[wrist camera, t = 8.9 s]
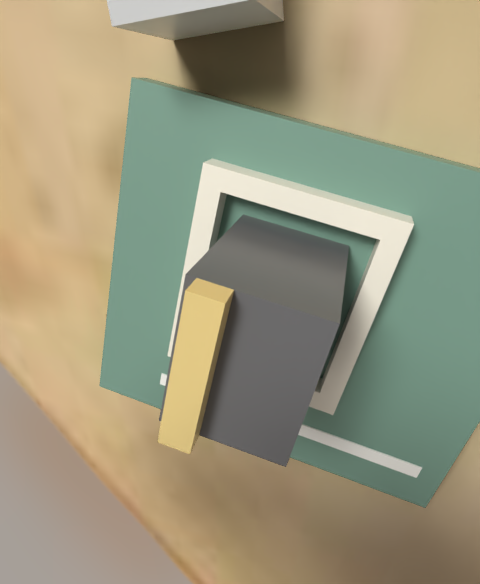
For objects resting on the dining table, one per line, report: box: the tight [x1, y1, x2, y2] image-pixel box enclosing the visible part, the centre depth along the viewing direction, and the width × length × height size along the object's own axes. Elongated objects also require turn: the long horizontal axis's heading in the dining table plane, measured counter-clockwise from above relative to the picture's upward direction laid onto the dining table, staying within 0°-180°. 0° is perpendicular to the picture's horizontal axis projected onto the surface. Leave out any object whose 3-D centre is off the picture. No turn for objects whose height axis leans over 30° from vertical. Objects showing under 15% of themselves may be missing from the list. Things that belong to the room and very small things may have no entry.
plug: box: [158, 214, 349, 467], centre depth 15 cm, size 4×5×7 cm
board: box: [100, 78, 480, 508], centre depth 18 cm, size 16×14×2 cm
